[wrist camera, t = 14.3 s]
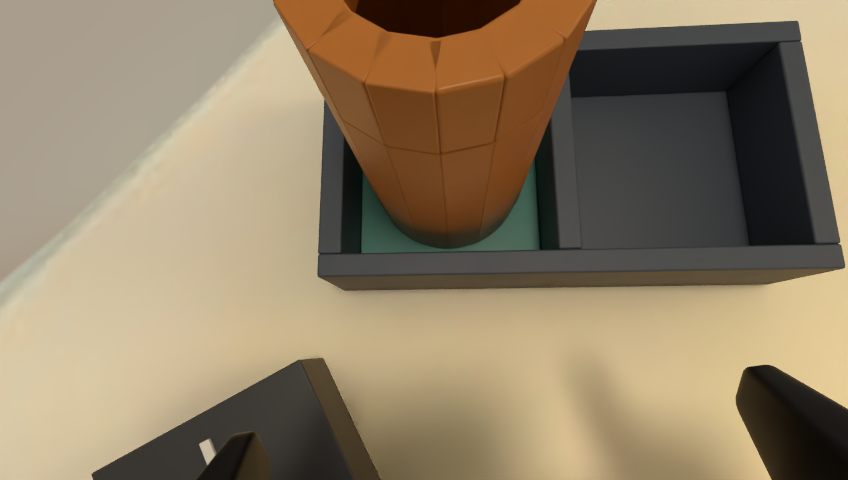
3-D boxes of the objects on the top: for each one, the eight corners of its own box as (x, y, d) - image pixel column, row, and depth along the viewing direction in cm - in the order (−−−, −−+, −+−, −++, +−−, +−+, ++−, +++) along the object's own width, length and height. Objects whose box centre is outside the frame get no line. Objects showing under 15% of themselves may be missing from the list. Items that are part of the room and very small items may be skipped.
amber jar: (506, 260, 20) (585, 116, 7) (365, 234, 20) (225, 63, 8) (528, 127, 21) (628, -187, 9) (394, 107, 21) (311, -213, 9)
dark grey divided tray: (768, 284, 19) (846, 268, 16) (343, 290, 20) (316, 277, 17) (736, 79, 21) (798, 19, 17) (349, 95, 22) (326, 42, 19)
